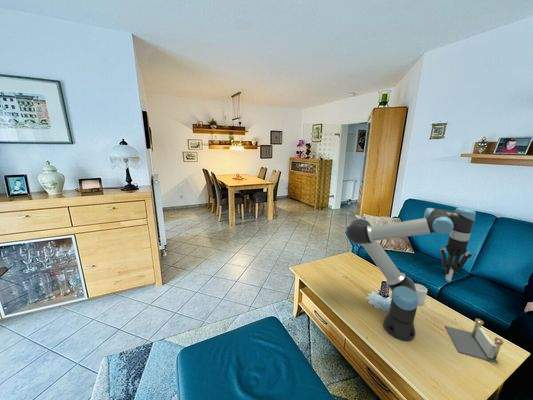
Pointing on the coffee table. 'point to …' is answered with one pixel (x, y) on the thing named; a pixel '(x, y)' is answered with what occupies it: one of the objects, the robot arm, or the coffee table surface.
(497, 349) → the brass capped rod
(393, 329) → the robot arm
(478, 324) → the hinge post
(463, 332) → the mat
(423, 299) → the cup
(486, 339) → the beige piece
